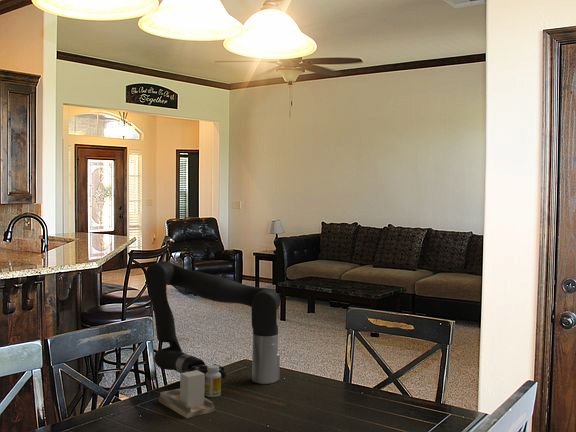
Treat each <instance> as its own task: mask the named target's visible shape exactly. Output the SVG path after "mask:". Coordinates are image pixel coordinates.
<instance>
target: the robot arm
mask: <svg viewBox="0 0 576 432" xmlns="http://www.w3.org/2000/svg"><path fill="white" fill-rule="evenodd" d="M144 276H145V280H146V281H145V282H146V286H147V288H148V292H149V295H150V296H149V297H150V302H151V304H152V309H153V314H154V315H153V316H154V323H155V332H156V339H157V341H158V342H159V343H168V344H169V346H166V347H164V348H160V349H158V350H157V351H156V352H155V353H154V354H153V355H154V357H153V358H154V363H155V365H156V366H157V367H158V368H160V369H161V370H167V371H168V370H170V371H175V372H177V373H179V374H180V373H185V372H191V371H196V370H198V371H200V372H202V373H204V374H206V373H207V372H208V371H207V367H208V366H209V365H208V364H206V362H204V360H203V359H201V358H199V357H197V356H194V355H192V354H188V353H185V352H183V351H182V348H181V346H180V343H179V340H178V337H177V333H176V323H175V318H174V314H173V311H172V309H171V305H170V303H169V301H168V295H167V286H174V287H178V288H182V289H186V290H188V291H189V292H191V293H192V294H194V295H196V296H198V297H199V298H202V299H205V300H208V301H213V302H216V303H225V304H238V305H239V304H240V305H244V306H247V307H251V327H252V355H251V356H252V357H251V358H252V361H251V365H252V366H251V367H252V368H251V381H252V382H254V383H257V384H260V385H261V384H262V385H266V384H274V383H276V382H277V381H280V367H281V366H280V365H281V364H280V358H281V356H280V353H279V352H278V351H279V349H278V347H279V327H278V324H277V323H278V322H277V316H278V315H277V311H278V309H279V307H280V305H281V301H282V300H281V297H280V295H279V294H278V293H277V292H276V291H275V290H273V289H270V288H266V287H265V288H264V287H258V286H251V285H247V284H245V283H240V282H238V281H236V280H231V279H228V278H225V277H222V276H217V275H214V274H210V273H205V272H201V271H196V270H191V269H187V268H184V267H181V266H179V265H176V264H174V263H172V262H168V261H165V260H164V261H156V262H154V263H151V264H150V265H149V266H148V267H147V268H146V269H145V273H144ZM212 365H218V364H217V363H214V364H212ZM218 366H219V371H218V372H220V373H221V379H226V377H227V372H226V371H225V367H224V366H221V365H218Z"/></svg>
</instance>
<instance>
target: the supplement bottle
mask: <svg viewBox="0 0 576 432" xmlns="http://www.w3.org/2000/svg"><path fill="white" fill-rule="evenodd" d="M207 366H208V367H207V371H208V372H207V373H206V374H205V390H204V396H206V397H209V398H215V397H219V396H221V394H222V378H221V373H220V372H218V371H219V366H220V365H219V366H218V364H216V365H213V364H210V365H207Z"/></svg>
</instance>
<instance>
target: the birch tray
mask: <svg viewBox="0 0 576 432" xmlns="http://www.w3.org/2000/svg"><path fill="white" fill-rule="evenodd" d="M159 394H160V396H159V397H158V402H159V403H160V404H162V405H163V406H165V407H167V408H168V409H170V410H172V411H174V412H176V413H177V414H179V415H180V416H182V417H184V418H186V419H189V418H193V417H197V416H200V415H206V414H211V413H213V412H215V409H216V407H215V406H214V401H211V400H210V399H208V398H206V397H204V405H203V406H199V407H195V408H191V407H189V406H188V405H186V404H184V403H182V402H180V388H176V389H170V390H166V391H161V392H160V393H159Z"/></svg>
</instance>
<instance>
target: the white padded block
mask: <svg viewBox="0 0 576 432" xmlns="http://www.w3.org/2000/svg"><path fill="white" fill-rule="evenodd" d="M179 374H180V379H179V381H180V382H179V385H180V386H179V389H180V402H182V403H184V404H186V405H188V406H189V407H191V408H195V407H199V406H203V405H204V398H205V374H204V373H202V372H200V371H198V370H196V371H191V372H185V373H179Z"/></svg>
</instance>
